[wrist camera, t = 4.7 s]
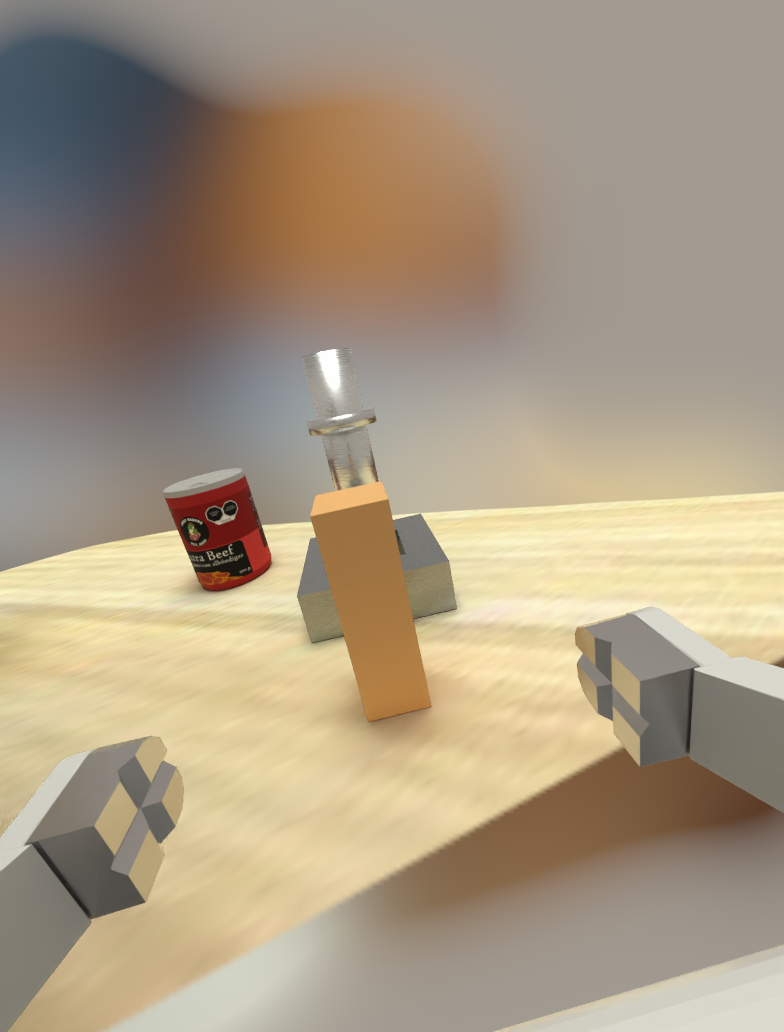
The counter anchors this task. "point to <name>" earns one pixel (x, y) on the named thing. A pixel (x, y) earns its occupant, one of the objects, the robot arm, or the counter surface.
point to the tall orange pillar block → (371, 598)
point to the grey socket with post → (351, 468)
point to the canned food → (219, 528)
